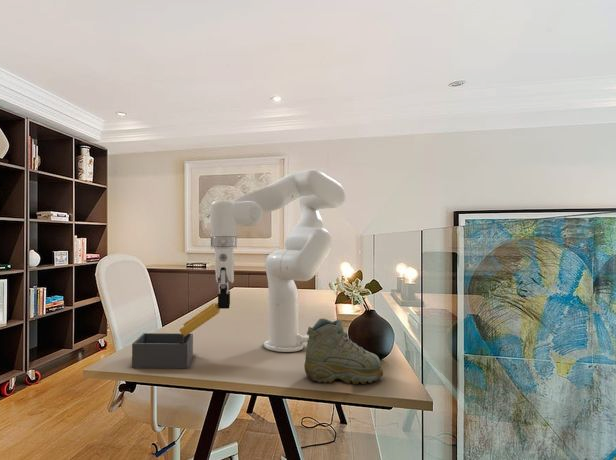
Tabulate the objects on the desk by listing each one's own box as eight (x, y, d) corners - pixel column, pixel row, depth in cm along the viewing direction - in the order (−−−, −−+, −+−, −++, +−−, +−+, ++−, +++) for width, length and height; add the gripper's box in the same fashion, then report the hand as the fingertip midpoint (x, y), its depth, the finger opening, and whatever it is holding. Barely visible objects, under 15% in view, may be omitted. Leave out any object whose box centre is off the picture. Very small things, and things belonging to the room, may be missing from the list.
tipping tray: (231, 300, 114) (226, 293, 114) (231, 304, 106) (225, 296, 106) (187, 330, 115) (182, 323, 115) (183, 337, 107) (178, 329, 107)
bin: (192, 355, 116) (193, 325, 117) (187, 368, 104) (187, 334, 104) (143, 354, 117) (143, 324, 117) (131, 367, 105) (132, 334, 105)
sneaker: (389, 388, 89) (386, 322, 91) (304, 383, 93) (303, 320, 95) (380, 376, 99) (377, 317, 101) (304, 373, 103) (303, 316, 105)
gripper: (236, 243, 102) (237, 312, 102) (236, 243, 119) (237, 301, 119) (208, 243, 102) (208, 312, 102) (212, 243, 119) (213, 301, 119)
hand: (224, 305), depth 110 cm, fingers closed on tipping tray, 4 cm apart
